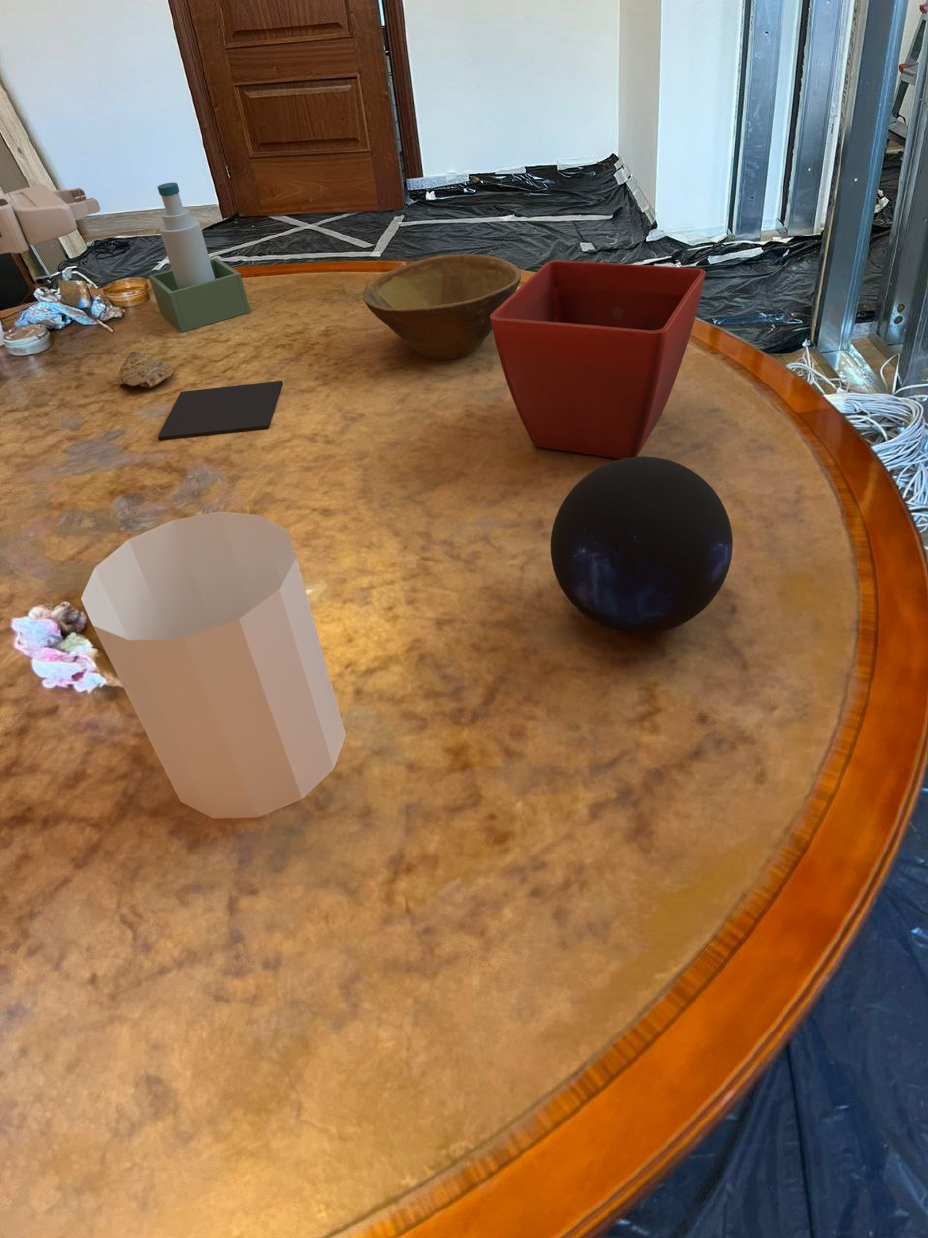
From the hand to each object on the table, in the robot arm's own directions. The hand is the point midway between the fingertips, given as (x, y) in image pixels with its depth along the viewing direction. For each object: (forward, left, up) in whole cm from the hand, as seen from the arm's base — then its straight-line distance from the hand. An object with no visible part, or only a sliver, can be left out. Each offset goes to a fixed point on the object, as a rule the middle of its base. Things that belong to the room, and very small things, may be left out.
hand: (91, 198), depth 134 cm
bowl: (+54, -21, -21) cm, 61 cm away
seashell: (+8, -22, -21) cm, 32 cm away
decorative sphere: (+70, -87, -21) cm, 113 cm away
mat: (+22, -35, -21) cm, 46 cm away
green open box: (+11, +6, -21) cm, 24 cm away
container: (+37, -99, -21) cm, 108 cm away
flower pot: (+72, -52, -21) cm, 91 cm away
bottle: (+11, +6, -21) cm, 24 cm away
